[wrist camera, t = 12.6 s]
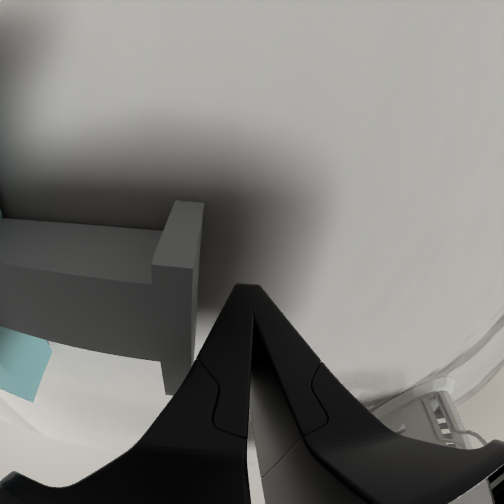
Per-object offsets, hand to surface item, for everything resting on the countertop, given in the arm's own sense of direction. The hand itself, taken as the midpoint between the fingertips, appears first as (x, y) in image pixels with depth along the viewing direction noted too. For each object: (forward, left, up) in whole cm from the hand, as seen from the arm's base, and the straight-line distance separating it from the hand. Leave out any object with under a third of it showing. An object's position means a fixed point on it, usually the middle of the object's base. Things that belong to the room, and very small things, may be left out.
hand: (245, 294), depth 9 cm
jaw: (+7, 0, -1) cm, 7 cm away
